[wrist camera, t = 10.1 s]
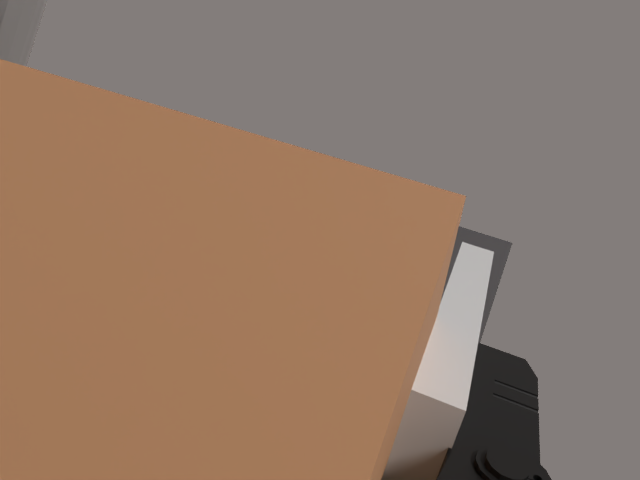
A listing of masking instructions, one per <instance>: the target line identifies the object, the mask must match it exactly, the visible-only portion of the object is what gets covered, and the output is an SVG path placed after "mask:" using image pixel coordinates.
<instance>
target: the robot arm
mask: <svg viewBox="0 0 640 480" xmlns="http://www.w3.org/2000/svg"><path fill="white" fill-rule="evenodd" d="M46 3H47V0H0V59H2V60H6V61H9V62H12V63H16V64H19V65H23V66H26V65H27V62H28V59H29V56H30V53H31V50H32V46H33V43H34V40H35V37H36V34H37V31H38V28H39V25H40V22H41V18H42V15H43V12H44V9H45V6H46ZM493 255H494V252H493V251H490V250H487V249H483V248H480V247H477V246H474V245H471V244H468V243H464V242H462V244H461V247H460V250H459V253H458V255H457V258H456V261H455V264H454V267H453V269H452V272H451V275H450V278H449V281H448V283H447V286H446V289H445V292H444V295H443V297H442V300H441V303H440V306H439V310H438V315H437V318H436V321H435V324H434V327H433V329H432V332H431V335H430V338H429V341H428V344H427V347H426V349H425V352H424V355H423V358H422V361H421V364H420V367H419V369H418V372H417V375H416V378H415V381H414V384H413V387H412V389H411V392H410V395H409V398H408V401H407V404H406V408H405V411H404V414H403V417H402V420H401V423H400V426H399V429H398V432H397V435H396V438H395V441H394V444H393V447H392V450H391V453H390V456H389V459H388V462H387V465H386V468H385V471H384V474H383V477H382V480H551V478H550V476H549V475H548V473H547V471H546V470H545V469H544V468H543V467H542V466H541V465H540V445H539V414H538V399H537V397H538V378H537V377H536V375H535V374H534V372H533V370H532V369H531V367H530V366H529V364H528V363H527V361H526V360H525V359H522V358H520V357H517V356H514V355H511V354H509V353H506V352H503V351H500V350H497V349H495V348H492V347H489V346H486V345H483V344H481V343H478V340H479V335H480V329H481V323H482V318H483V312H484V306H485V301H486V295H487V289H488V283H489V278H490V272H491V266H492V261H493Z"/></svg>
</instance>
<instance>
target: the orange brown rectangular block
mask: <svg viewBox="0 0 640 480" xmlns="http://www.w3.org/2000/svg"><path fill="white" fill-rule="evenodd" d="M465 198H466V196H464V195H461V194H457V193H453V192H450V191H447V190H444V189H440V188H437V187H433V186H430V185H426V184H423V183H420V182H416V181H413V180H410V179H406V178H403V177H399V176H396V175H392V174H389V173H386V172H382V171H379V170H376V169H372V168H369V167H365V166H362V165H359V164H355V163H352V162H348V161H345V160H342V159H338V158H335V157H331V156H328V155H325V154H321V153H318V152H315V151H311V150H308V149H304V148H300V147H298V146H294V145H291V144H287V143H284V142H280V141H277V140H273V139H270V138H267V137H263V136H260V135H257V134H253V133H250V132H247V131H243V130H240V129H236V128H233V127H229V126H226V125H223V124H220V123H216V122H213V121H209V120H206V119H202V118H199V117H196V116H192V115H189V114H186V113H182V112H179V111H175V110H172V109H168V108H165V107H161V106H158V105H155V104H151V103H148V102H145V101H141V100H138V99H135V98H131V97H128V96H124V95H121V94H117V93H114V92H111V91H107V90H104V89H101V88H97V87H94V86H91V85H87V84H84V83H80V82H77V81H73V80H70V79H67V78H63V77H60V76H57V75H53V74H50V73H46V72H43V71H39V70H36V69H33V68H29V67H26V66H23V65H19V64H16V63H12V62H9V61H6V60H2V59H0V480H382V477H383V474H384V471H385V468H386V465H387V462H388V459H389V456H390V453H391V450H392V447H393V444H394V441H395V438H396V435H397V432H398V429H399V426H400V423H401V420H402V417H403V414H404V411H405V408H406V404H407V401H408V398H409V395H410V392H411V389H412V387H413V384H414V381H415V378H416V375H417V372H418V369H419V367H420V364H421V361H422V358H423V355H424V352H425V349H426V347H427V344H428V341H429V338H430V335H431V332H432V329H433V327H434V324H435V321H436V318H437V315H438V310H439V306H440V303H441V300H442V297H443V295H444V292H445V289H446V286H447V283H448V281H449V278H450V275H451V272H452V269H453V267H454V264H455V261H456V258H457V255H458V253H459V250H460V247H461V244H462V242H464V243H468V244H471V245H474V246H477V247H480V248H483V249H487V250H490V251H493V252H494V255H493V261H492V266H491V272H490V278H489V283H488V289H487V295H486V301H485V306H484V312H483V318H482V323H481V329H480V335H479V340H478V343H480V340H481V338H482V335H483V332H484V329H485V325H486V322H487V319H488V316H489V313H490V310H491V307H492V304H493V301H494V298H495V295H496V292H497V289H498V285H499V282H500V279H501V276H502V273H503V270H504V267H505V264H506V261H507V258H508V255H509V252H510V248H511V245H512V243H510V242H508V241H504V240H501V239H498V238H495V237H491V236H488V235H485V234H482V233H478V232H475V231H472V230H469V229H466V228H462V227H459V223H460V219H461V215H462V211H463V206H464V202H465Z"/></svg>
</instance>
